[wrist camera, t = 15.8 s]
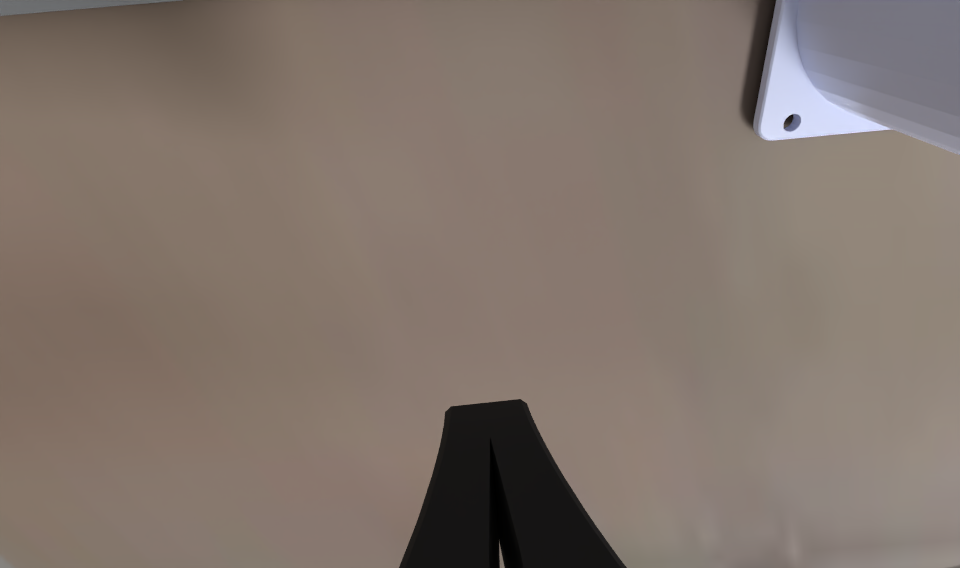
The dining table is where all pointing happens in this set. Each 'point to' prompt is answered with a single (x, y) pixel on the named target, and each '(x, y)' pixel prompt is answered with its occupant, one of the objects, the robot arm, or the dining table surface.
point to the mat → (62, 5)
